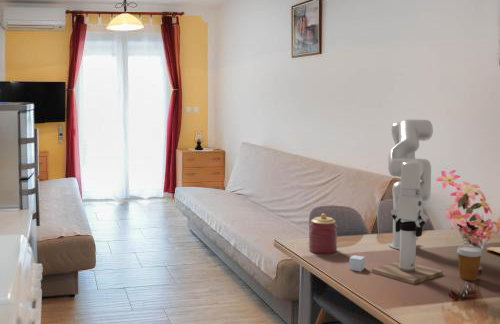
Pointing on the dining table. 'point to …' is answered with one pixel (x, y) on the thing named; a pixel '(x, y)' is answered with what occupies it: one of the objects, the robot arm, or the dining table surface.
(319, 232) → the canister
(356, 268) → the grey-blue block
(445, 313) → the dining table surface
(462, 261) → the disposable coffee cup
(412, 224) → the travel mug
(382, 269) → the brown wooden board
